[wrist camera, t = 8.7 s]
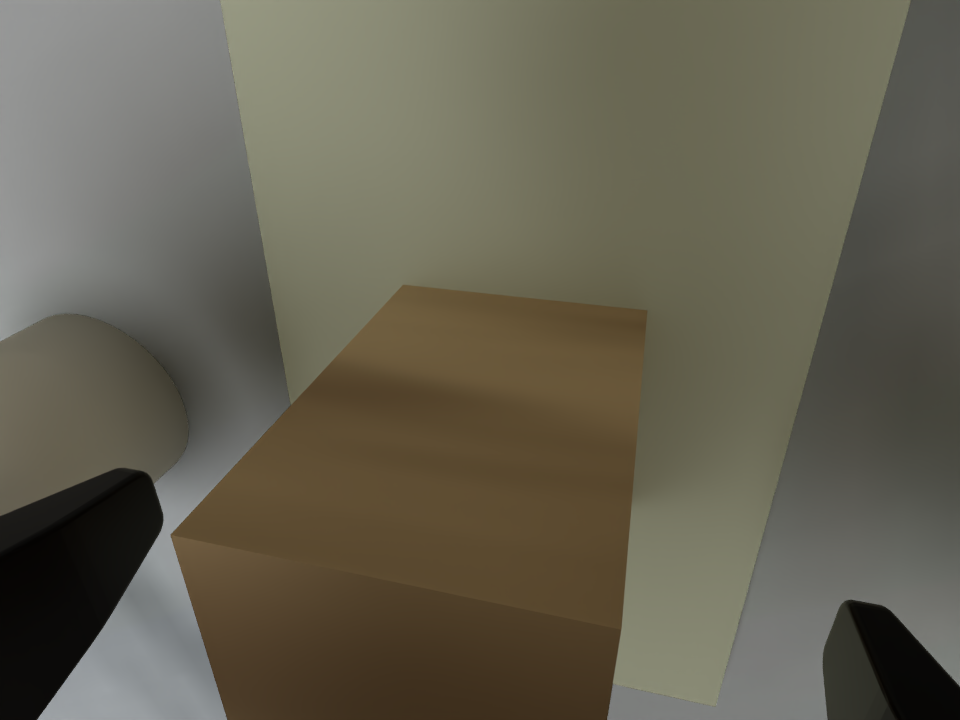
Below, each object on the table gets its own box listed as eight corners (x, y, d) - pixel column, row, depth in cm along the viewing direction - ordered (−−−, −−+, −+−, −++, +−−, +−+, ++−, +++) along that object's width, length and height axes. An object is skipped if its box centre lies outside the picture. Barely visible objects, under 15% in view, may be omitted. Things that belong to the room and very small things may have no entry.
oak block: (620, 508, 12) (581, 881, 7) (414, 473, 13) (247, 782, 8) (647, 310, 10) (621, 629, 5) (403, 284, 11) (170, 535, 6)
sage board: (713, 673, 15) (715, 706, 14) (342, 594, 17) (327, 620, 16) (912, -78, 8) (934, -85, 7) (241, -60, 10) (208, -64, 9)
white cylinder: (206, 486, 16) (38, 663, 12) (57, 459, 17) (-147, 613, 13) (162, 325, 14) (-60, 469, 10) (-5, 303, 15) (-275, 427, 11)
